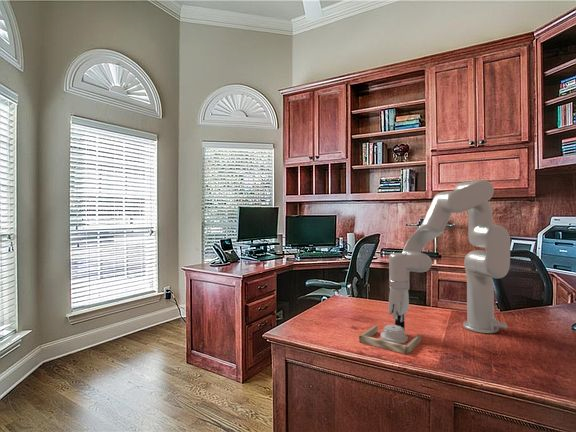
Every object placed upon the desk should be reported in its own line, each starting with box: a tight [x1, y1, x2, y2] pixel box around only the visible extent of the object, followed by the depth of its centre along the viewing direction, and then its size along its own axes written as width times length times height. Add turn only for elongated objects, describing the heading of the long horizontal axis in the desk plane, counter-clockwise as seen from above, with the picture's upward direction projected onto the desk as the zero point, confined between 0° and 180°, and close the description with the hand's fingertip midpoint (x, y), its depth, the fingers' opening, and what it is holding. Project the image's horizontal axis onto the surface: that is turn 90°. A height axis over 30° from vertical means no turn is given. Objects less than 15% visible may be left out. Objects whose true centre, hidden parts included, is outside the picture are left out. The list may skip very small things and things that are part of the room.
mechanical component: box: [380, 324, 409, 344], centre depth 129 cm, size 10×4×10 cm
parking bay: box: [358, 324, 422, 355], centre depth 126 cm, size 18×14×2 cm
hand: (399, 330), depth 133 cm, fingers closed
